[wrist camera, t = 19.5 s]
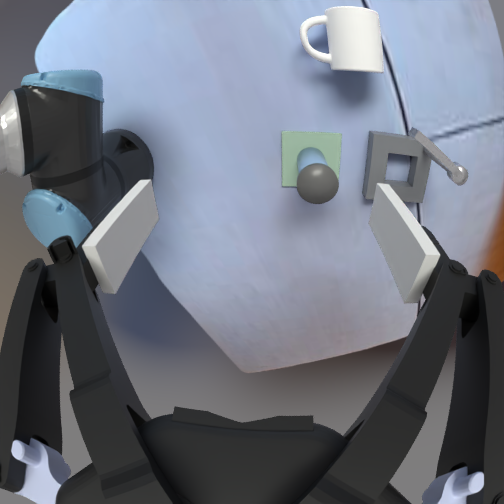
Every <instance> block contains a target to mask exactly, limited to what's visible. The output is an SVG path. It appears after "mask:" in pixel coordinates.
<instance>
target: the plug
mask: <svg viewBox="0 0 504 504" xmlns="http://www.w3.org/2000/svg"><path fill="white" fill-rule="evenodd" d="M297 165H298V172H299V174H298V177H297V190H298V192H299V194H300V196H301V197H302V198H303V199H304V200H306V201H307V202H309V203H313V204H322V203H325V202H328V201H329V200H331V199H332V198H333V197H334V196H335V195H336V193H337V191H338V187H339V182H338V178H337V176H336V174H335V172H334V171H333V169H331V168H330V167H329V166H328V164H327V162H326V159H325V157H324V155H323V153H322V152H321V151H320V150H319V149H317V148H314V147H308V148H305V149H303V150H301V151H300V153H299V154H298V156H297Z"/></svg>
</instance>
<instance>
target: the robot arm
mask: <svg viewBox="0 0 504 504" xmlns="http://www.w3.org/2000/svg"><path fill="white" fill-rule="evenodd" d="M21 86H22V88H18V89H15V90H12V91H10V92H9V93H8V94H7V96H6V97H5V98H4V100H3V102H2V103H1V104H0V174H2V173H5V172H11V173H13V174H15V175H17V176H18V177H23V176H25V175H27V174H29V173H30V177H31V182H32V190H31V191H30V192H29V193H28V194H27V195H26V197H25V199H24V203H23V206H22V208H23V215H24V219H25V222H26V224H27V226H28V228H29V229H30V231H31V232H32V233H33V235H34V236H35V237H36V238H37V239H38V240H39V241H40V242H41V243H42V244H43V245H45V246H46V247H47V248H48V252H49V254H50V256H51V258H52V260H53V262H54V264H52V265H48V266H46V265H45V263H44V261H43V259H41V258H37V259H35V260H32V261H31V262H29V263H28V264H27V265H26V266H25V268H24V270H23V272H22V275H21V278H20V281H19V283H18V286H17V290H16V293H15V296H14V299H13V302H12V306H11V309H10V313H9V317H8V320H7V324H6V328H5V333H4V337H3V342H2V347H1V352H0V488H2V489H5V490H8V491H10V492H13V493H16V494H19V495H22V496H25V497H27V498H29V499H31V500H32V501H34V502H36V503H37V504H411V503H410V502H409V501H408V500H407V499H406V498H405V497H404V496H403V495H402V494H401V493H400V492H398V491H397V490H396V489H395V488H394V487H393V486H392V485H391V484H390V483H389V481H390V480H391V478H392V477H393V475H394V474H395V472H396V471H397V469H398V468H399V466H400V465H401V463H402V461H403V460H404V458H405V457H406V455H407V453H408V451H409V450H410V448H411V446H412V444H413V443H414V441H415V439H416V437H417V436H418V434H419V432H420V430H421V428H422V426H423V424H424V422H425V419H426V417H427V412H426V411H425V407H426V405H427V402H428V400H429V398H430V396H431V394H432V391H433V389H434V387H435V384H436V382H437V379H438V377H439V375H440V372H441V370H442V367H443V364H444V362H445V359H446V356H447V353H448V350H449V347H450V344H451V341H452V338H453V335H454V332H455V328H456V325H457V341H456V360H455V372H454V382H453V390H452V398H451V404H450V410H449V416H448V421H447V426H446V431H445V435H444V440H443V444H442V448H441V452H440V456H439V461H438V466H437V473H436V479H435V480H434V481H433V482H432V483H431V484H430V486H429V487H428V489H427V490H426V491H425V492H424V493H423V495H422V500H423V503H422V504H504V292H503V288H502V284H501V281H500V279H499V278H498V277H497V275H496V274H495V273H494V272H491V271H489V270H482V271H481V273H480V275H479V276H478V277H475V276H472V275H468V272H467V270H466V268H465V267H464V266H463V265H462V264H461V263H459V262H458V261H455V260H450V259H449V257H448V256H447V254H446V253H445V251H444V250H443V248H442V247H441V245H439V242H438V241H437V240H436V238H435V237H434V235H433V234H432V232H430V231H429V230H428V229H427V228H426V227H424V226H420V224H419V223H418V221H417V220H416V219H415V217H414V216H413V215H412V213H411V212H410V211H409V209H408V208H407V207H406V205H405V204H404V203H403V202H402V200H401V199H400V198H399V196H398V195H397V194H396V193H395V191H394V190H393V189H392V188H391V187H390V185H389V184H382V183H377V185H376V191H375V196H374V201H373V205H372V210H371V215H370V219H369V225H370V227H371V229H372V231H373V234H374V236H375V238H376V240H377V242H378V244H379V246H380V248H381V250H382V252H383V255H384V257H385V259H386V261H387V263H388V266H389V268H390V270H391V273H392V275H393V277H394V280H395V282H396V284H397V287H398V289H399V292H400V294H401V297H402V299H403V302H404V303H418V301H419V299H420V298H421V296H422V294H424V297H425V299H426V300H425V302H424V304H423V306H422V307H421V309H420V311H419V313H418V315H417V319H416V321H415V323H414V325H413V327H412V329H411V331H410V333H409V335H408V337H407V339H406V341H405V343H404V345H403V347H402V349H401V351H400V352H399V354H398V356H397V358H396V359H395V361H394V363H393V365H392V366H391V368H390V370H389V371H388V373H387V375H386V376H385V378H384V380H383V382H382V383H381V385H380V386H379V388H378V389H377V391H376V392H375V394H374V396H373V397H372V398H371V400H370V401H369V403H368V404H367V406H366V407H365V409H364V410H363V412H362V413H361V414H360V416H359V417H358V418H357V420H356V421H355V422H354V423H353V425H352V426H351V427H350V428H349V429H348V431H347V432H346V433H345V434H344V436H342V435H341V434H339V433H338V432H336V431H335V430H333V429H331V428H328V427H326V426H323V425H320V424H316V423H313V416H276V417H272V418H267V419H262V420H257V421H251V422H244V423H241V422H237V421H234V420H231V419H228V418H225V417H222V416H219V415H216V414H213V413H211V412H208V411H201V410H194V409H187V408H180V407H175V408H174V412H173V414H169V415H163V416H160V417H156V418H154V419H151V418H150V416H149V415H148V414H147V412H146V411H145V409H144V408H143V406H142V404H141V402H140V400H139V398H138V396H137V394H136V392H135V390H134V388H133V386H132V383H131V381H130V379H129V377H128V375H127V372H126V370H125V368H124V365H123V363H122V361H121V358H120V356H119V354H118V351H117V348H116V346H115V343H114V341H113V338H112V336H111V333H110V330H109V327H108V325H107V322H106V319H105V316H104V313H103V310H102V307H101V304H100V300H99V297H98V294H97V292H96V290H95V288H96V287H97V285H98V284H99V286H100V288H101V290H102V292H104V293H112V294H116V292H117V290H118V289H119V287H120V285H121V283H122V281H123V279H124V278H125V276H126V274H127V272H128V270H129V269H130V267H131V265H132V263H133V261H134V260H135V258H136V256H137V255H138V253H139V251H140V250H141V248H142V246H143V245H144V243H145V241H146V240H147V238H148V236H149V235H150V233H151V231H152V230H153V228H154V227H155V225H156V223H157V222H158V220H159V215H158V211H157V206H156V201H155V196H154V191H153V186H152V178H153V172H154V166H153V159H152V156H151V153H150V151H149V149H148V147H147V146H146V144H145V143H144V142H143V141H142V140H141V139H140V138H139V137H138V136H137V135H135V134H134V133H132V132H130V131H127V130H123V129H114V130H109V131H107V132H105V133H103V103H104V99H103V80H102V76H101V75H100V74H99V73H98V72H97V71H94V70H61V71H50V72H43V73H36V74H30V75H27V76H25V77H24V78H23V80H22V83H21ZM61 333H62V335H63V340H64V346H65V351H66V355H67V360H68V364H69V368H70V373H71V377H72V380H73V384H74V390H71V391H70V400H71V404H72V407H73V410H74V413H75V417H76V419H77V423H78V425H79V428H80V431H81V434H82V437H83V440H84V442H85V444H86V447H87V450H88V452H89V455H90V457H91V460H92V463H91V464H89V465H88V466H87V467H85V468H84V469H82V470H81V471H80V472H78V473H77V474H75V475H74V476H72V477H71V478H70V479H68V477H69V476H70V474H71V470H70V467H69V466H68V464H66V463H65V461H64V459H63V457H62V427H61V414H60V387H59V385H60V381H59V380H60V378H59V377H60V376H59V375H60V348H61Z"/></svg>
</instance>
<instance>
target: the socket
mask: <svg viewBox="0 0 504 504" xmlns="http://www.w3.org/2000/svg"><path fill="white" fill-rule="evenodd" d="M432 143H433V142H432ZM433 144H434V143H433ZM388 153H394V154H402V155H409V156H412V158H411V164H410V170H409V175H408V181H407V182H404V181H393V180H385V174H386V167H387V160H388ZM431 159H432V160H433V161H435V162H436V163H437V164H438V165H440V166H441V167H442V168H444V169H445V170H446V171H447V168H446V167H445V166H444V165H442V164H441V163H440V162H439V161H438V160H437V159H436V158H435V157H434V156H433V155H432V154H431V153H430V152H428V151H427V150H426V149H425V148H424V147H423V146H422V145H421V144H419V143H418V142H417V141H416V140H415V139H413V138H412V137H411V136H406V135H399V134H393V133H385V132H377V131H369V141H368V152H367V161H366V170H365V178H364V185H363V192H362V193H363V195H364V197H365V198H366V199H374V196H375V191H376V185H377V183H382V184H389V185H390V187H391V188H392V189H393V190H394V191H395V193H396V194H397V195H398V196H399V198H400V199H401V200H402V201H404V202H416V203H422V202H423V198H424V193H425V189H426V184H427V180H428V175H429V170H430V165H431Z"/></svg>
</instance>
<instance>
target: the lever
mask: <svg viewBox="0 0 504 504" xmlns="http://www.w3.org/2000/svg"><path fill="white" fill-rule="evenodd" d="M408 134H409V135H410V136H411V137H412V138H413V139H415V140H416V141H417V142H418V143H419V144H421V145H422V146H423V147H424V148H425V149H426V150H427V151H428V152H430V153H431V154H432V155H433V156H434V157H435V158H436V159H437V160H438V161H439V162H440V163H441V164H442V165H444V166H445V167H446V168H447V175H448V177H449V178H450V179H451V180H452V181H453V182H454V183H456V184H457V185H463V184H464V183H465V182H466V181H467V179H468V172H467V170H466V169H465V168H464V167H463V166H461V165H460V164H459V163H457V162H452V161H451V160H450V159H449V158H448V157H447V156H446V155H445V154H444V153H443V152H442V151H441V150H440V149H439V148H438V147H437V146H436V145H434V144H433V143H432V142H431V141H430V140H429V139H428V138H427V137H426V136H425V135H423V134H422V133H421V132H420V131H419V130H417V129H415V128H413V127H412V128H411V130H410V131H409V133H408Z"/></svg>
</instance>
